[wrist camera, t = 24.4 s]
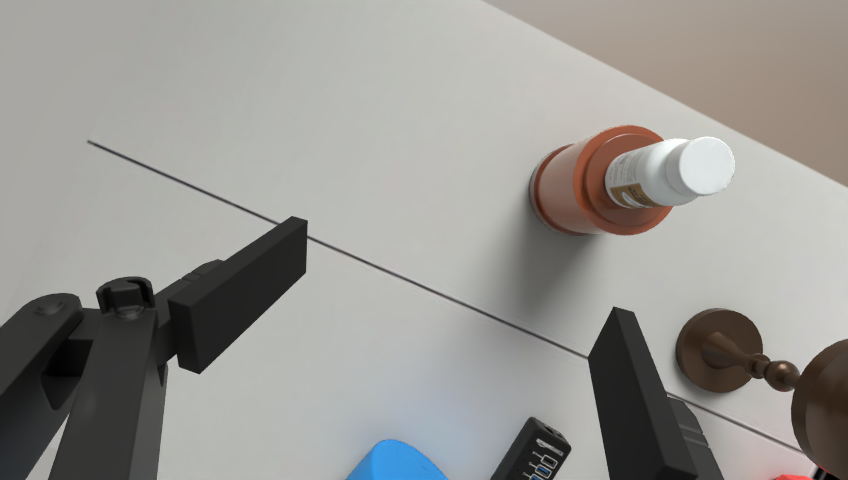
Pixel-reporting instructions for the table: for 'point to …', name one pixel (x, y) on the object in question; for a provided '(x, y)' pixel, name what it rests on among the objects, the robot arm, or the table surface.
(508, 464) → the multiport hub
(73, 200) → the table surface
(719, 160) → the pill bottle
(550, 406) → the table surface
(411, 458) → the alarm clock
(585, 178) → the brown cylindrical container
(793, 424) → the candlestick
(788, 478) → the apple
